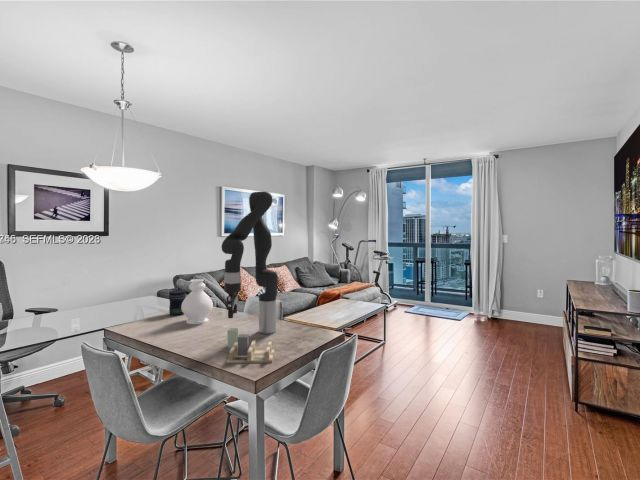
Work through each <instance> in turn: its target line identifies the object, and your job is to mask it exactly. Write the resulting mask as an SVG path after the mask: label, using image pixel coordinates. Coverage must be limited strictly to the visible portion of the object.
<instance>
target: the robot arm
mask: <svg viewBox="0 0 640 480" xmlns="http://www.w3.org/2000/svg"><path fill="white" fill-rule="evenodd" d="M248 204H249V210H250V212H249V213H248V214H246V215H245V216H244V217H243V218H242V219H241V220H240V221H239V222H238V224H237V225H236V227H235V228H234V230H233V231H231V233H229V234H228V235H227V236H226V238H224V240H223V242H222V244H221V251H222V252H223V253H224V254H225V255H231V256H230V258H229V259H226V260H225V262H224V278H223V279H224V281H223V282H224V283H223V284H224V287H223V288H224V292H225V293H228V296H226V310H227V317H228V319H233V318H234V314H237V313H238V305H239V292H240V293H241V289H242V287H241V286H242V276H241V263H242V258H243V255H244V251H245V246H244V243H243V241H245V240H246V239H247V238H248V237H249V235H250V234H251V232H252V231H253V232H252V233H253V245H254V246H253V247H254V256H255V271H254V274H255V278H254V279H255V283H256V285H257V286H258V287H260V288H265V292H263V293H260V294H259V295H258V333H260V334H265V335H267V334H275V332H276V331H277V296H278V286H279V278H278V277H279V276H278V273H277V272H276V271H275V270H270V269H269V270H268V269H267V259H268V256H269V254H270V251H271V249H272V245H273V242H272V233H271V231H270V228H269V227H268V226H267V224H266V222H265V220H264V219H263V218H264V217H263V216H264V215H265V214H266V212H267V211H268V210H269V209H270V208H271V207H272V205H273V196H272V193H270V192H269V191H264V190H263V191H254V192H252V193H250V195H249V199H248Z"/></svg>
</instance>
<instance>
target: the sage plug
mask: <svg viewBox="0 0 640 480" xmlns="http://www.w3.org/2000/svg"><path fill="white" fill-rule="evenodd" d="M238 336H239V328H238V327H229V328H228V329H227V348H230V349H231V348H232V347H233V345H234V343H235V342H236V340H238Z"/></svg>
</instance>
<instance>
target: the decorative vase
mask: <svg viewBox="0 0 640 480" xmlns="http://www.w3.org/2000/svg"><path fill="white" fill-rule="evenodd" d="M204 281H205V279H204V278H193V279H190V282H191V283H189V286H188V289H189V290H190V291H191V292H189V293H188V294H187V296H185V299H184V301H183V302H182V306H181V309H182V312H183V313H184V316H185V317H186V318H187V320H186V321H185V322H186V324H189V325H201V324H205V323H208V322H209V318H208V315H210V313H211V311H212V310H213V308H214V303H213V300H212V298H211V297H210V296H209V295H208V294H207V293H206V292H205V291H204V290H205V289H206V284H205V283H204Z"/></svg>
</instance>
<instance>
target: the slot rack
mask: <svg viewBox="0 0 640 480" xmlns="http://www.w3.org/2000/svg"><path fill="white" fill-rule="evenodd" d="M275 352H276V347H273V339H268V342H267V346H266V347H257V340H256V339H252V341H251V343H250V344H249V349H248V352H247V356H238V340H236V342H235V343H234V345H233V347H231V348H230V349H229V352H228V357H227V358H226V360H225V364H269V363H270V364H271V363H273V360H274V356H275V355H274V354H275Z"/></svg>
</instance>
